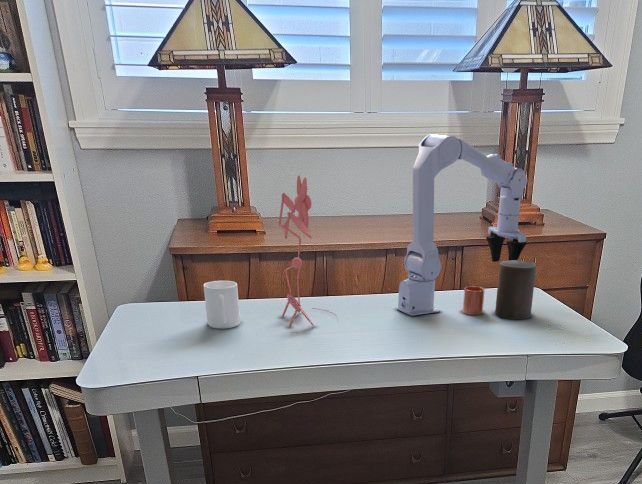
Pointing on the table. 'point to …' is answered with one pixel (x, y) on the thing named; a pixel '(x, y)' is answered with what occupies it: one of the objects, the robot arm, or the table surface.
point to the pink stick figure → (302, 208)
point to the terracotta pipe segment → (473, 300)
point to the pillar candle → (515, 289)
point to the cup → (222, 304)
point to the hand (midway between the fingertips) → (503, 264)
